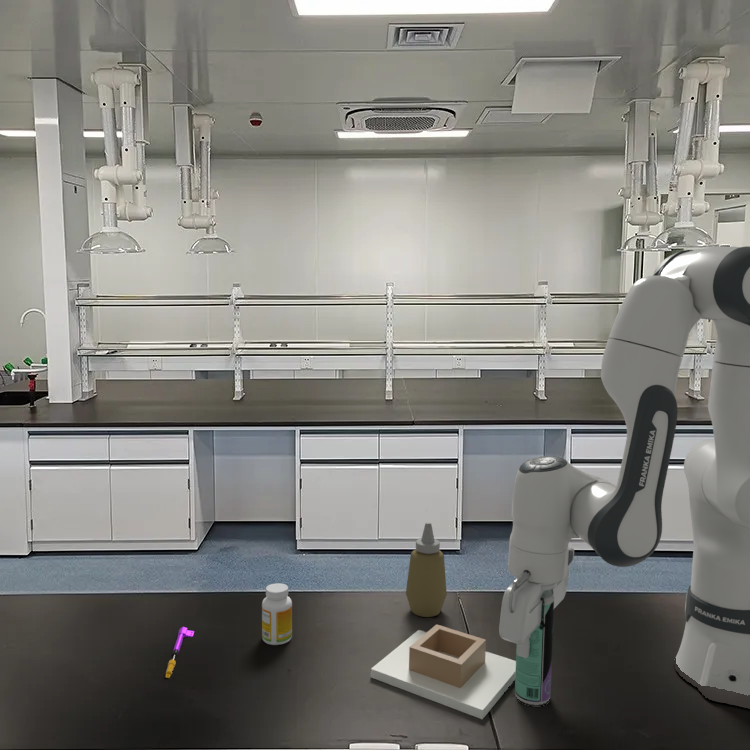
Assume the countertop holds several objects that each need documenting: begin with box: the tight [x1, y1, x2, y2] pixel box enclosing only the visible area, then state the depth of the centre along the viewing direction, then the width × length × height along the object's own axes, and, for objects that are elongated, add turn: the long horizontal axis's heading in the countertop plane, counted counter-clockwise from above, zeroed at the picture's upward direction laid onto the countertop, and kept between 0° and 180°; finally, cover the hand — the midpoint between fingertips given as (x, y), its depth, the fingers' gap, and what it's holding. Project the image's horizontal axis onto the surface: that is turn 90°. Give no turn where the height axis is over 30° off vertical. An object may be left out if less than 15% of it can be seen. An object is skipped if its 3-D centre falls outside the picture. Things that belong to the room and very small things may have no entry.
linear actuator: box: [165, 626, 195, 679], centre depth 124 cm, size 3×1×16 cm
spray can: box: [514, 589, 555, 705], centre depth 112 cm, size 6×6×20 cm
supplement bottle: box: [261, 582, 293, 646], centre depth 129 cm, size 5×5×10 cm
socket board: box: [370, 624, 516, 720], centre depth 119 cm, size 20×16×6 cm
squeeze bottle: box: [405, 522, 448, 618], centre depth 140 cm, size 8×8×18 cm
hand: (532, 645), depth 112 cm, fingers open, 6 cm apart
